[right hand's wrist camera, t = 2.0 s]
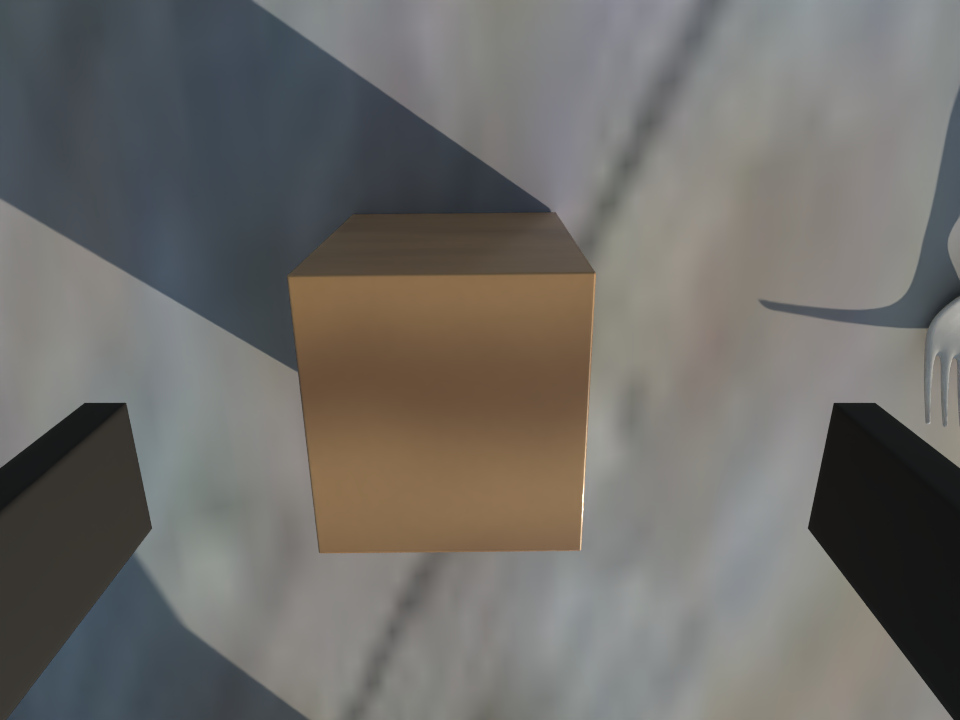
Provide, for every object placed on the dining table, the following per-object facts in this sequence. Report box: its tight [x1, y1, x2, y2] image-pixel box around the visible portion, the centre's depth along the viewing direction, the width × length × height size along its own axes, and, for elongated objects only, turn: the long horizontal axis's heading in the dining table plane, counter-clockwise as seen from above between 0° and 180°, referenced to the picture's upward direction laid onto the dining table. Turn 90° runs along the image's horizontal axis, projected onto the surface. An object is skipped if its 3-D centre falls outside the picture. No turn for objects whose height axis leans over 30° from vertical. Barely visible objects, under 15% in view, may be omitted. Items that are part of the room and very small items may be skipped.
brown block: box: [287, 212, 596, 553], centre depth 23 cm, size 8×8×9 cm
